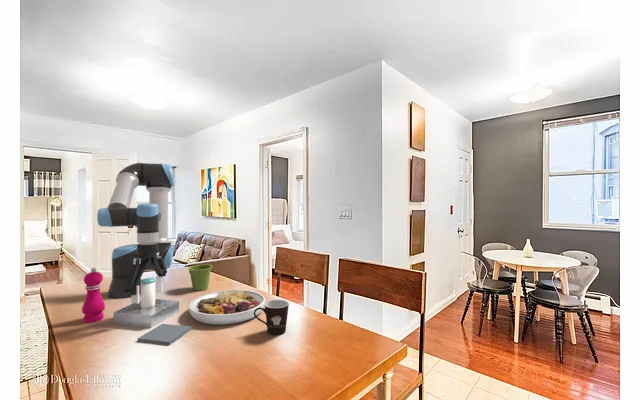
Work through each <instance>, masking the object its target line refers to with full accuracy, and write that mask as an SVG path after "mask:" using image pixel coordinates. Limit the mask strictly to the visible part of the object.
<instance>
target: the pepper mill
mask: <svg viewBox="0 0 640 400" xmlns="http://www.w3.org/2000/svg"><path fill="white" fill-rule="evenodd" d="M103 280H104V276H103V274H102V272H100V271H97V269H96V268H95V267H92V268H91V269H90V272H88V273H86V274H85V275H84V278H83V283H84V284H85V290H86V298H85V300H84V303H83V305H82V308H81V313H82V314H83V315H84V316H83V322H84V323H86V324H89V323H94V322H99V321H102V320H103V319H104V316H105V315H104V311H105V309H106V305H105V304H106V303H105V301H104V299H103V297H102V295H101V288H102V282H103ZM101 319H102V320H101Z"/></svg>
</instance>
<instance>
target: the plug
mask: <svg viewBox="0 0 640 400" xmlns="http://www.w3.org/2000/svg"><path fill="white" fill-rule="evenodd" d="M155 299H156V277H155V278H154V277H149V278H143V279H142V278H141V294H140V300H141V309H151V308H153V307H155Z"/></svg>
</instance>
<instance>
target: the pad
mask: <svg viewBox="0 0 640 400" xmlns="http://www.w3.org/2000/svg"><path fill="white" fill-rule="evenodd" d="M192 329H193V326H189V325H179V324H168V323H161V324H158V325H157V326H156V327H154V328H152V329H151V330H149V331H147V332H145V333H144V334H143V335H141V336H138V337H137V342H141V343H150V344H158V345H167V346H171V345H172V344H173V343H175V342H176V341H178V340H179V339H180V338H182V337H183V336H184V335H186V334H187V333H189V332H190V331H191V330H192Z"/></svg>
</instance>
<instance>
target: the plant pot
mask: <svg viewBox="0 0 640 400" xmlns="http://www.w3.org/2000/svg"><path fill="white" fill-rule="evenodd" d="M212 268H213V265H211V264H197V265H196V264H195V265H192V266H189V267H188V268H187V270H188V271H189V275H190V281H191V285H192V289H193V291H196V292H197V291H204V290H205V291H206V290H207V289H209V284H210V283H209V282H210V278H211V271H212Z"/></svg>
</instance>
